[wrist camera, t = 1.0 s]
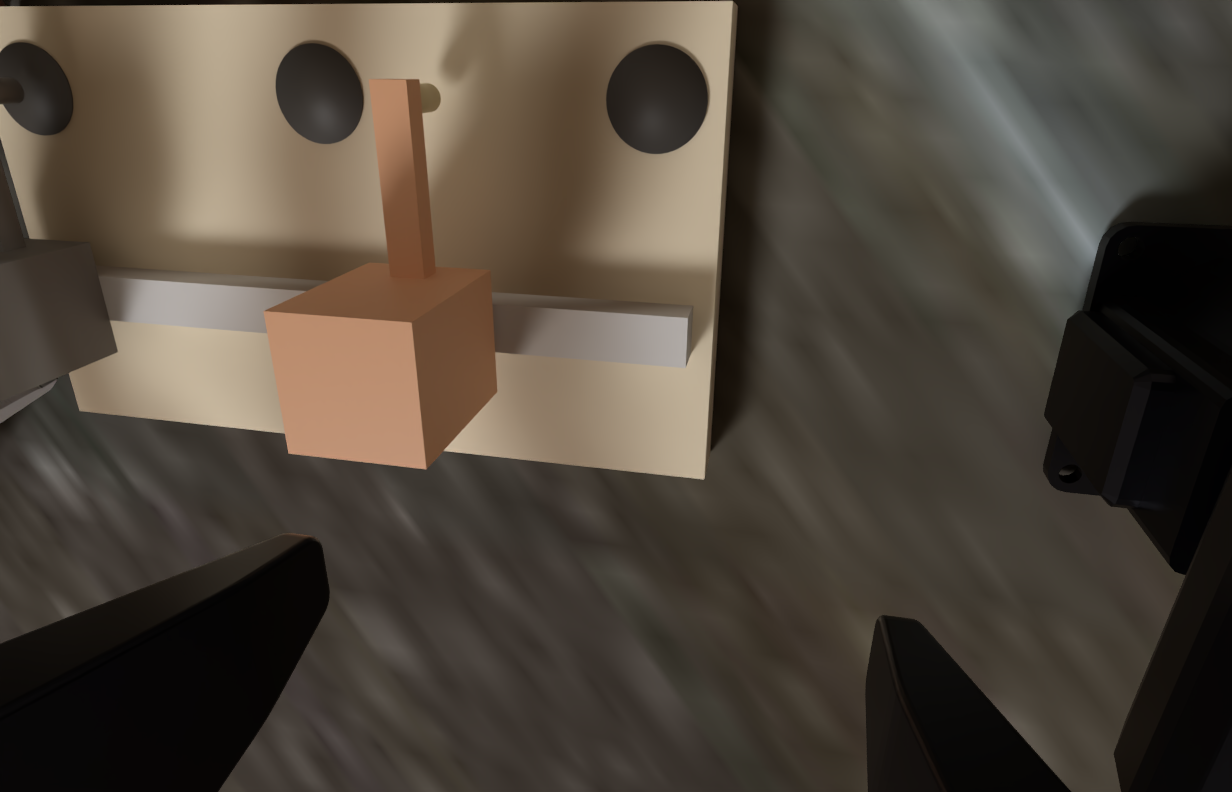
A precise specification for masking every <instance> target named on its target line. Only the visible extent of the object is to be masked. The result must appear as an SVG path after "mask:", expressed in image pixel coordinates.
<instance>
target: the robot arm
mask: <svg viewBox="0 0 1232 792" xmlns="http://www.w3.org/2000/svg"><path fill="white" fill-rule="evenodd" d="M1130 237H1136V239H1137V247H1136V249H1135V250H1134V252H1132V253H1131V254H1129V255H1127V256H1122V257H1121V256H1119V255H1118V247H1119V245H1120V244H1121V242H1122V241H1124V240H1125V239H1127V238H1130ZM1044 416H1045V418H1046V420H1047V421H1048V422H1049V424H1050V425H1051V427H1052V432H1051V436H1050V440H1049V444H1048V448H1047V452H1046V456H1045V460H1044V464H1043V472H1044V474H1045V475H1046V477H1047V479H1048V481H1049V482H1050V484H1051V485H1052V486H1053V487H1054V488H1056V489H1057V490H1060V491H1064V492H1070V493H1080V494H1090V495H1099V496H1101V497H1102V498H1103V499H1104V500H1105V502H1106V503H1107V504H1108V505H1110V506H1111V507H1121V508H1127V509H1128V510H1129V512H1130V513H1131V514H1132V516H1133V517H1134V518H1135V520H1136V521H1137V522H1138V524H1139V525H1140V526H1141V528H1142V529H1143V530H1144V532H1145V533H1146V534H1147V536H1148V537H1149V538H1150V540H1151V541H1152V543H1153V544H1154V545H1155V547H1156V548H1157V549H1158V551H1159V552H1160V553H1161V555H1162V556H1163V557H1164V559H1165V560H1166V561H1167V563H1168V564H1169V565H1170V566H1171V568H1172V569H1173V570H1174V571H1175V572H1178V573H1180V574H1183V575H1186V576H1185V578H1184V581H1183V583H1182V586H1181V588H1180V590H1179V593H1178V595H1177V598H1176V600H1175V603H1174V605H1173V607H1172V610H1171V612H1170V615H1169V617H1168V619H1167V622H1166V624H1165V627H1164V629H1163V631H1162V634H1161V636H1160V639H1159V641H1158V643H1157V646H1156V648H1155V651H1154V653H1153V655H1152V658H1151V660H1150V663H1149V665H1148V667H1147V670H1146V672H1145V675H1144V677H1143V679H1142V682H1141V684H1140V687H1139V689H1138V691H1137V694H1136V696H1135V699H1134V701H1133V704H1132V706H1131V708H1130V711H1129V713H1128V716H1127V718H1126V721H1125V723H1124V726H1123V729H1122V732H1121V735H1120V737H1119V740H1118V743H1117V746H1116V748H1115V751H1114V757H1115V762H1116V767H1117V772H1118V777H1119V783H1120V788H1121V792H1232V226H1216V225H1192V224H1169V223H1145V222H1126V223H1120V224H1118V225H1116V226H1113V227H1111V228H1110V229H1109V230H1108V231H1107V232H1106V233H1105V234H1104V235H1103V237H1102V239H1101V241H1100V243H1099V247H1098V250H1097V254H1096V258H1095V262H1094V266H1093V270H1092V274H1091V278H1090V282H1089V286H1088V290H1087V294H1086V298H1085V302H1084V306H1083V310H1082V311H1078V312H1076V313H1075V314H1074V315H1072V316H1071V317H1070V318H1069V319H1068V320H1067V323H1066V327H1065V331H1064V335H1063V339H1062V343H1061V347H1060V351H1059V355H1058V360H1057V364H1056V368H1055V372H1054V376H1053V380H1052V384H1051V388H1050V392H1049V396H1048V400H1047V404H1046V408H1045V413H1044ZM1066 465H1076V466H1077V468H1076V469H1075V471H1074V472H1073V473H1071V474H1070V475H1064V476H1062V475H1059V472H1060V470H1061V468H1063V467H1065V466H1066ZM329 594H330V591H329V584H328V578H327V572H326V566H325V560H324V554H323V549H322V545H321V543H320V541H319V540H318V539H317V538H315V537H313V536H308V535H301V534H293V533H284V534H281V535H278V536H276V537H273V538H271V539H268V540H266V541H263V542H260V543H258V544H255V545H253V546H250V547H248V548H245V549H242V550H240V551H237V552H235V553H232V554H230V555H227V556H224V557H222V558H219V559H217V560H214V561H212V562H209V563H206V564H204V565H201V566H199V567H196V568H194V569H191V570H188V571H186V572H183V573H181V574H178V575H176V576H173V577H170V578H168V579H165V580H163V581H160V582H157V583H155V584H152V585H150V586H147V587H145V588H142V589H139V590H137V591H134V592H132V593H129V594H127V595H124V596H121V597H119V598H116V599H114V600H111V601H109V602H106V603H103V604H101V605H98V606H96V607H93V608H91V609H88V610H85V611H83V612H80V613H78V614H75V615H73V616H70V617H67V618H65V619H62V620H60V621H57V622H55V623H52V624H49V625H47V626H44V627H42V628H39V629H37V630H34V631H31V632H29V633H26V634H24V635H21V636H18V637H16V638H13V639H11V640H8V641H6V642H3V643H0V792H218V791H219V790H220V788H221V787H222V785H223V784H224V782H225V781H226V779H227V778H228V776H229V775H230V773H231V772H232V770H233V769H234V767H235V766H236V764H237V763H238V761H239V760H240V759H241V757H242V756H243V754H244V753H245V751H246V750H247V748H248V747H249V745H250V744H251V742H252V741H253V739H254V738H255V736H256V735H257V733H258V732H259V730H260V728H261V727H262V725H263V724H264V722H265V721H266V719H267V717H268V716H269V714H270V712H271V711H272V709H273V707H274V705H275V704H276V702H277V700H278V698H279V697H280V695H281V693H282V691H283V689H284V687H285V685H286V684H287V682H288V680H289V678H290V676H291V674H292V673H293V671H294V669H295V667H296V665H297V663H298V661H299V660H300V658H301V656H302V654H303V652H304V650H305V648H306V647H307V645H308V643H309V641H310V639H311V637H312V635H313V634H314V632H315V630H316V628H317V626H318V624H319V622H320V621H321V619H322V617H323V615H324V613H325V611H326V609H327V606H328V602H329ZM865 695H866V734H867V772H868V792H1071V791H1070V790H1069V789H1068V788H1067V787H1066V785H1065V784H1064V783H1063V782H1062V781H1061V780H1060V779H1059V778H1058V777H1057V775H1056V774H1055V773H1054V772H1053V771H1052V770H1051V769H1050V768H1049V766H1048V765H1047V764H1046V763H1045V762H1044V761H1043V760H1042V759H1041V757H1040V756H1039V755H1038V754H1037V753H1036V752H1035V751H1034V750H1033V748H1032V747H1031V746H1030V745H1029V744H1028V743H1027V742H1026V741H1025V739H1024V738H1023V737H1022V736H1021V735H1020V734H1019V733H1018V732H1017V730H1016V729H1015V728H1014V727H1013V726H1012V725H1011V724H1010V723H1009V721H1008V720H1007V719H1006V718H1005V717H1004V716H1003V715H1002V714H1001V712H1000V711H999V710H998V709H997V708H996V707H995V706H994V705H993V703H992V702H991V701H990V700H989V699H988V698H987V697H986V696H985V694H984V693H983V692H982V691H981V690H980V689H979V688H978V687H977V686H976V684H975V683H974V682H973V681H972V680H971V679H970V678H969V677H968V675H967V674H966V673H965V672H964V671H963V670H962V669H961V668H960V666H959V665H958V664H957V663H956V662H955V661H954V660H953V659H952V657H951V656H950V655H949V654H948V653H947V652H946V651H945V650H944V648H943V647H942V646H941V645H940V644H939V643H938V642H937V641H936V639H935V638H934V637H933V636H932V635H931V634H930V633H929V632H928V630H927V629H926V628H925V627H924V626H923V625H922V624H921V623H920V622H919V621H917V620H915V619H909V618H902V617H895V616H887V615H882V616H880V617H879V618H878V619H877V621H876V624H875V629H874V635H873V641H872V646H871V652H870V658H869V664H868V670H867V677H866V692H865Z"/></svg>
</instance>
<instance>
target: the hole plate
mask: <svg viewBox="0 0 1232 792" xmlns="http://www.w3.org/2000/svg"><path fill="white" fill-rule="evenodd" d="M737 13H738V6H737V5H736V4H735V3H734V2H733V1H664V2H531V3H398V4H265V5H132V6H0V138H1V141H2V145H3V148H4V151H5V155H6V158H7V162H8V165H9V169H10V172H11V176H12V179H13V182H14V186H15V189H16V193H17V196H18V200H19V203H20V207H21V210H22V214H23V217H24V220H25V224H26V227H27V231H28V234H29V238H30V239H28V238H23V234H22V231H21V227H20V224H19V221H18V217H17V214H16V210H15V207H14V204H13V200H12V197H11V193H10V190H9V186H8V183H7V180H6V176H5V173H4V169H3V166H2V163H1V159H0V402H1V401H3V400H6V399H8V398H11V397H13V396H15V395H18V394H20V393H22V392H25V391H27V390H29V389H32V388H34V387H37V386H39V385H41V384H44V383H46V382H48V381H51V380H53V379H56V378H58V377H60V376H63V375H65V374H67V373H69V376H70V379H71V382H72V386H73V389H74V393H75V396H76V400H77V403H78V407H79V410H80V411H85V412H95V413H104V414H113V415H122V416H131V417H140V418H149V419H158V420H167V421H177V422H186V423H195V424H204V425H213V426H222V427H231V428H240V429H249V430H259V431H268V432H277V433H285V430H284V424H283V419H282V413H281V407H280V402H279V396H278V391H277V385H276V379H275V374H274V368H273V363H272V357H271V351H270V346H269V340H268V334H267V329H266V323H265V318H264V312H263V311H265V310H267V309H269V308H271V307H273V306H276V305H278V304H280V303H282V302H284V301H286V300H289V299H291V298H293V297H295V296H297V295H300V294H302V293H304V292H306V291H308V290H310V289H313V288H315V287H317V286H319V285H321V284H323V283H326V282H328V281H330V280H332V279H334V278H336V277H339V276H341V275H343V274H345V273H347V272H350V271H352V270H354V269H356V268H358V267H360V266H363V265H365V264H367V263H385V264H389V261H388V251H387V242H386V233H385V224H384V215H383V206H382V196H381V187H380V178H379V169H378V160H377V151H376V141H375V132H374V123H373V114H372V105H371V96H370V87H369V79H419V80H420V83H430V84H432V85H434V86H435V87H436V88H437V89H438V91H439V93H440V96H441V103H440V106H439V107H438V109H437V110H435V111H433V112H428V113H422V115H423V127H424V138H425V150H426V162H427V174H428V185H429V197H430V209H431V220H432V232H433V244H434V256H435V267H450V268H467V269H483V270H490V271H491V288H492V306H493V323H494V341H495V358H496V376H497V393H496V394H495V395H494V396H493V397H492V398H491V399H490V401H489V402H488V403H487V404H486V405H485V406H484V407H483V408H482V409H481V410H480V411H479V413H478V414H477V415H476V416H475V417H474V418H473V419H472V420H471V421H470V422H469V423H468V425H467V426H466V427H465V428H464V429H463V430H462V431H461V432H460V433H459V434H458V435H457V436H456V438H455V439H454V440H453V441H452V442H451V443H450V444H449V445H448V446H447V447H446V448H445V450H444V451H450V452H459V453H468V454H477V455H486V456H495V457H505V458H514V459H523V460H532V461H541V462H550V463H559V464H568V465H577V466H587V467H596V468H605V469H614V470H623V471H632V472H641V473H650V474H659V475H669V476H678V477H687V478H696V479H705V474H706V470H707V465H708V461H709V456H710V449H711V432H712V416H713V400H714V384H715V368H716V352H717V336H718V319H719V303H720V287H721V271H722V255H723V239H724V223H725V207H726V190H727V174H728V158H729V142H730V126H731V110H732V94H733V78H734V61H735V45H736V29H737Z"/></svg>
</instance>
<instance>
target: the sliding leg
mask: <svg viewBox="0 0 1232 792" xmlns="http://www.w3.org/2000/svg"><path fill="white" fill-rule="evenodd" d="M369 87H370V96H371V105H372V114H373V123H374V132H375V141H376V151H377V160H378V169H379V178H380V187H381V196H382V206H383V215H384V224H385V233H386V242H387V251H388V261H389V264H385V263H367V264H365V265H363V266H360V267H358V268H356V269H354V270H352V271H350V272H347V273H345V274H343V275H341V276H339V277H336V278H334V279H332V280H330V281H328V282H326V283H323V284H321V285H319V286H317V287H315V288H313V289H310V290H308V291H306V292H304V293H302V294H300V295H297V296H295V297H293V298H291V299H289V300H286V301H284V302H282V303H280V304H278V305H276V306H273V307H271V308H269V309H267V310H265V311H263V312H264V318H265V323H266V329H267V334H268V340H269V346H270V351H271V357H272V363H273V368H274V374H275V379H276V385H277V391H278V396H279V402H280V407H281V413H282V419H283V424H284V430H285V436H286V441H287V447H288V452H289V454H298V455H307V456H315V457H324V458H333V459H341V460H350V461H359V462H367V463H376V464H385V465H393V466H402V467H411V468H419V469H427V468H428V467H429V466H430V465H431V464H432V463H433V462H434V460H435V459H436V458H437V457H438V456H439V455H440V454H441V453H442V452H443V451H444V450H445V448H446V447H447V446H448V445H449V444H450V443H451V442H452V441H453V440H454V439H455V438H456V436H457V435H458V434H459V433H460V432H461V431H462V430H463V429H464V428H465V427H466V426H467V425H468V423H469V422H470V421H471V420H472V419H473V418H474V417H475V416H476V415H477V414H478V413H479V411H480V410H481V409H482V408H483V407H484V406H485V405H486V404H487V403H488V402H489V401H490V399H491V398H492V397H493V396H494V395H495V394H496V393H497V376H496V358H495V341H494V323H493V306H492V288H491V271H490V270H483V269H467V268H450V267H435V256H434V244H433V232H432V220H431V209H430V197H429V185H428V174H427V162H426V150H425V138H424V127H423V115H422V113H428V112H433V111H435V110H437V109H438V107H439V106H440V103H441V96H440V93H439V91H438V89H437V88H436V87H435V86H434V85H432V84H430V83H420V80H419V79H369Z"/></svg>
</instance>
